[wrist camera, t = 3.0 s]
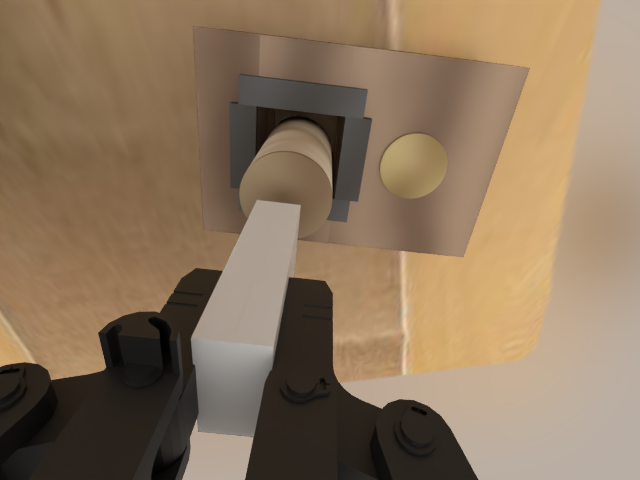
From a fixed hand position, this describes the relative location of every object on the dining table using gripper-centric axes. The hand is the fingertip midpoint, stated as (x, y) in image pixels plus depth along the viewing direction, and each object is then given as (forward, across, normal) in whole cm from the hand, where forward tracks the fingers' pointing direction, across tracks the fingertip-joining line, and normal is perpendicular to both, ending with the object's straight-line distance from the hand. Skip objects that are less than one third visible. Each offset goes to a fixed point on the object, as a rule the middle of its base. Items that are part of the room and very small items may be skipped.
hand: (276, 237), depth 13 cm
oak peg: (+12, 0, 0) cm, 12 cm away
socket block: (+19, +3, 0) cm, 19 cm away
